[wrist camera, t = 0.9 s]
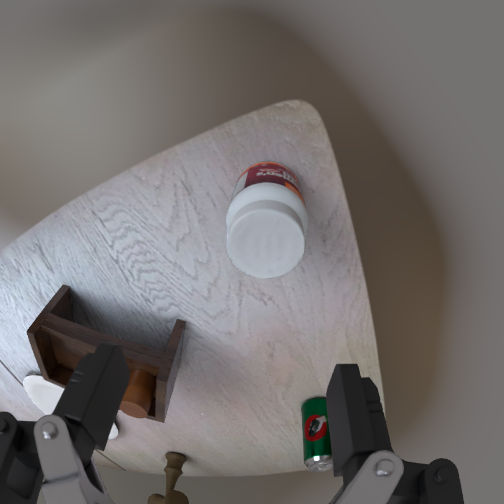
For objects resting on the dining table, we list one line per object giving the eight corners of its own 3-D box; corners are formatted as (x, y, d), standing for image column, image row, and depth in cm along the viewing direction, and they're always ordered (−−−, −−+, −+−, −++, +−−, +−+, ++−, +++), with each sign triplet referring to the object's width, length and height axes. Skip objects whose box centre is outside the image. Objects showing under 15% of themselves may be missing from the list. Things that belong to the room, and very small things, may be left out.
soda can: (295, 407, 48) (297, 470, 37) (312, 392, 45) (318, 459, 35) (319, 413, 49) (324, 473, 38) (337, 399, 46) (345, 462, 36)
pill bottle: (309, 173, 29) (331, 222, 19) (284, 228, 32) (291, 296, 22) (248, 150, 28) (236, 186, 18) (227, 207, 31) (207, 268, 21)
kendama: (197, 456, 61) (186, 530, 43) (176, 462, 65) (163, 529, 47) (176, 446, 59) (161, 523, 42) (156, 454, 63) (141, 522, 45)
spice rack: (63, 284, 37) (18, 342, 27) (185, 321, 39) (162, 397, 28) (71, 333, 42) (37, 389, 32) (178, 367, 44) (160, 435, 33)
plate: (8, 360, 50) (5, 366, 49) (93, 382, 48) (90, 389, 47) (55, 422, 62) (53, 426, 61) (134, 443, 61) (133, 448, 59)
